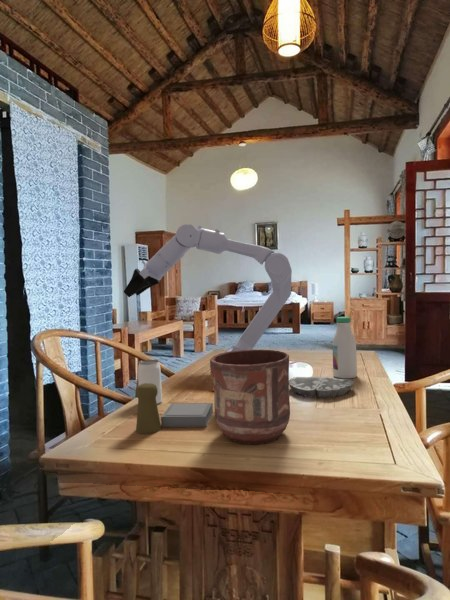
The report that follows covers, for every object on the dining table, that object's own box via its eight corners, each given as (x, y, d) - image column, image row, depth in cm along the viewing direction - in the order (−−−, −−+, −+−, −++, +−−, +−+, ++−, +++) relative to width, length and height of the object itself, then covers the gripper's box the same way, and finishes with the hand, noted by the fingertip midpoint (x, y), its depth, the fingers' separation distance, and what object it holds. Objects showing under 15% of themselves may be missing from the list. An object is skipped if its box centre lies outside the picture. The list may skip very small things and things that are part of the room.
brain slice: (280, 399, 130) (280, 389, 130) (293, 384, 146) (293, 375, 146) (351, 403, 123) (351, 392, 123) (356, 387, 139) (356, 377, 139)
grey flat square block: (212, 412, 120) (212, 402, 120) (206, 426, 109) (205, 416, 109) (172, 412, 121) (171, 403, 121) (161, 426, 110) (161, 416, 110)
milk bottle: (359, 374, 154) (358, 316, 152) (353, 380, 147) (351, 318, 146) (337, 373, 158) (335, 315, 156) (330, 377, 151) (328, 318, 150)
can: (157, 406, 128) (155, 364, 127) (136, 405, 129) (133, 364, 128) (165, 399, 134) (163, 359, 133) (144, 399, 136) (142, 359, 135)
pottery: (216, 422, 112) (212, 350, 110) (287, 420, 111) (285, 347, 110) (211, 452, 94) (207, 366, 93) (297, 449, 93) (293, 363, 92)
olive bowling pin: (149, 435, 105) (147, 388, 104) (130, 431, 108) (128, 385, 107) (166, 427, 110) (164, 382, 109) (147, 423, 113) (145, 380, 113)
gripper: (161, 249, 131) (129, 282, 133) (147, 247, 117) (111, 284, 119) (178, 267, 131) (145, 299, 133) (166, 267, 117) (130, 303, 119)
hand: (130, 293), depth 126 cm, fingers open, 7 cm apart
